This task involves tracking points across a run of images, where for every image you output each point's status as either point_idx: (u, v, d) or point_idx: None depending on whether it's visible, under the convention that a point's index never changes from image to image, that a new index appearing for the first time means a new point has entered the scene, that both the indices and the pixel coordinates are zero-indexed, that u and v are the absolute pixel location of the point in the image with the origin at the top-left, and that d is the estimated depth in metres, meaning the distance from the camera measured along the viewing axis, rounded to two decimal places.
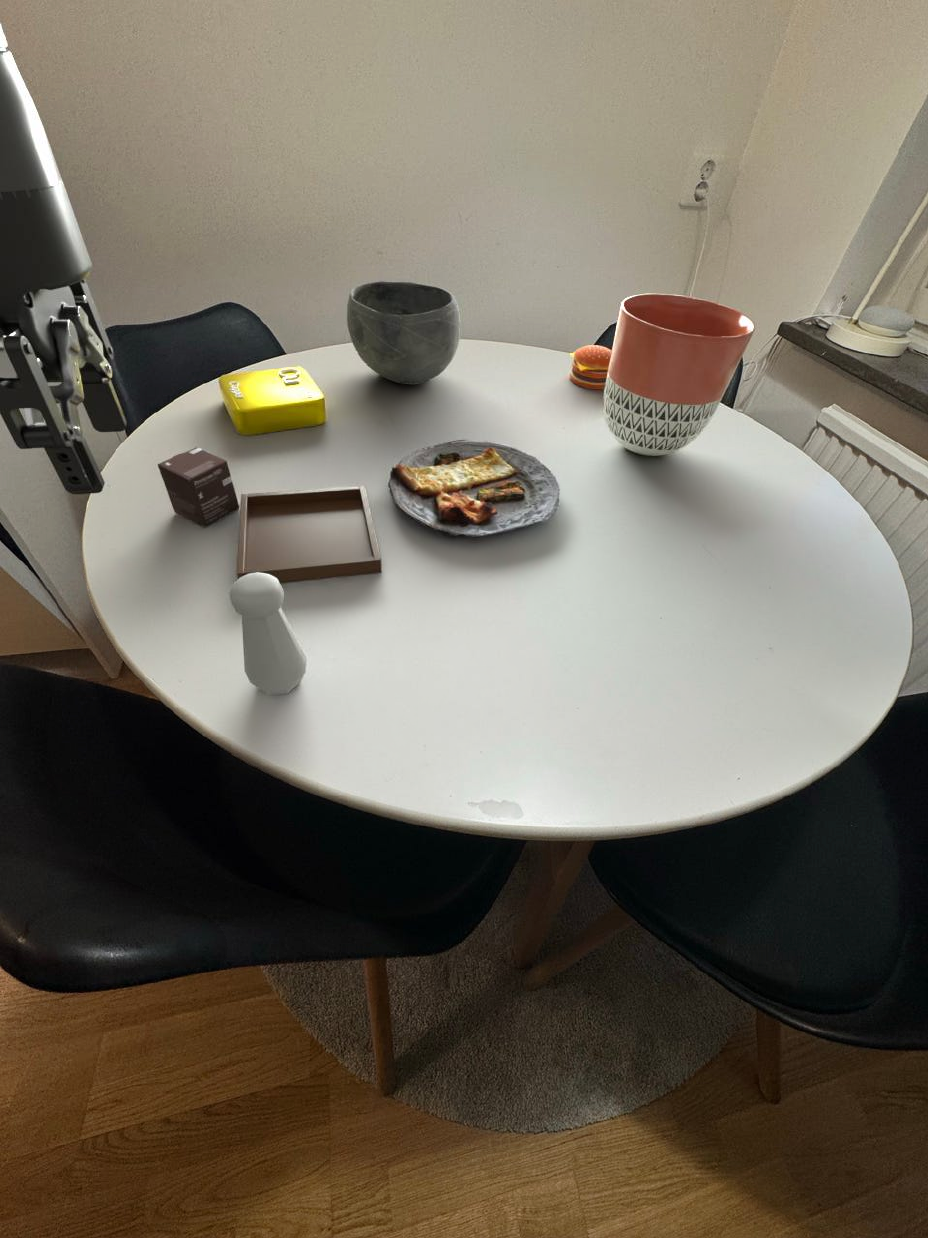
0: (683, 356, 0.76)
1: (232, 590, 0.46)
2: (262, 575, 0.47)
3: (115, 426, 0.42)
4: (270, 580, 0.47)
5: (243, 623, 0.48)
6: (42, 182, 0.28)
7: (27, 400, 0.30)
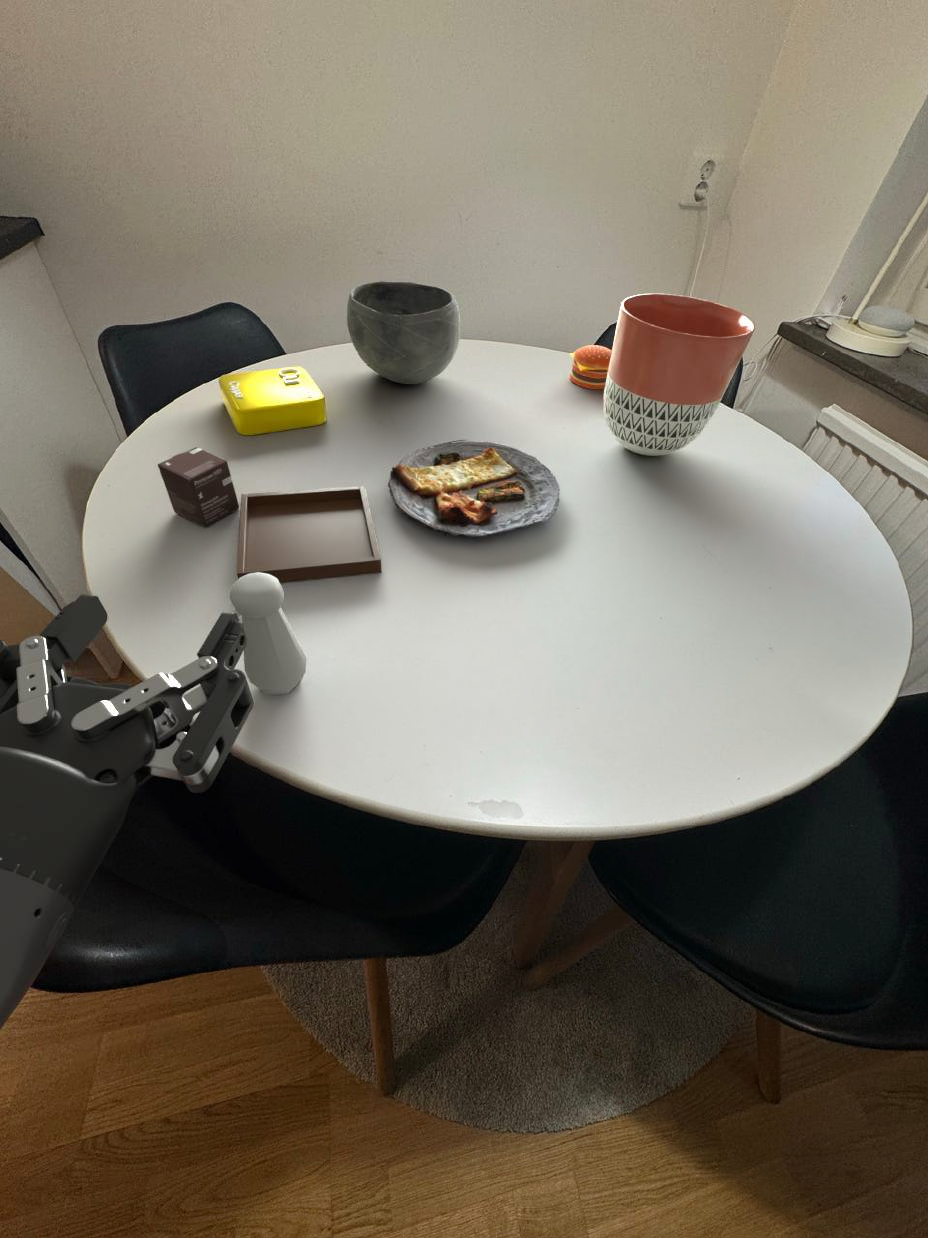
0: (683, 356, 0.76)
1: (232, 590, 0.46)
2: (262, 575, 0.47)
3: None
4: (270, 580, 0.47)
5: (243, 623, 0.48)
6: None
7: None
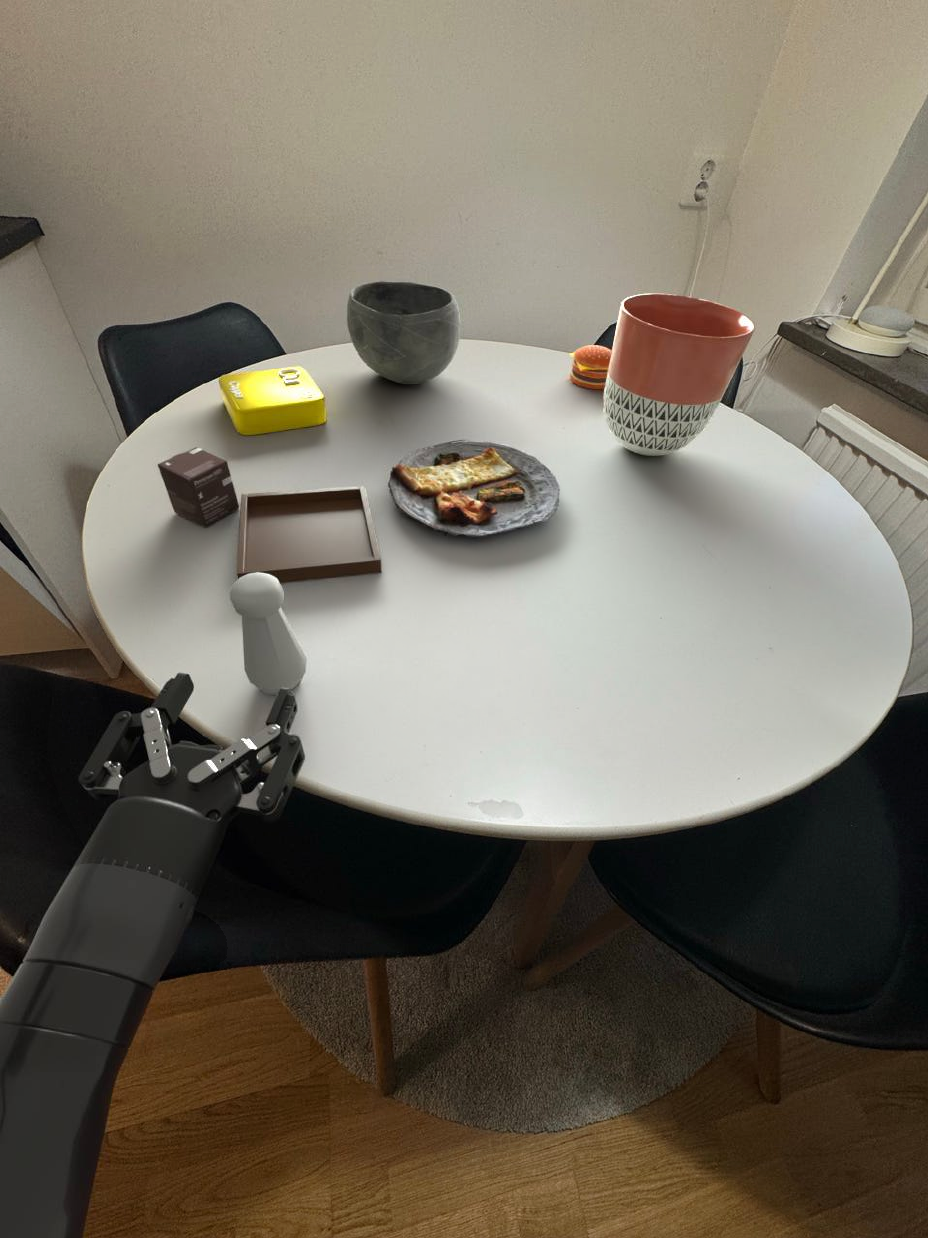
0: (683, 356, 0.76)
1: (232, 590, 0.46)
2: (262, 575, 0.47)
3: None
4: (270, 580, 0.47)
5: (243, 623, 0.48)
6: None
7: None
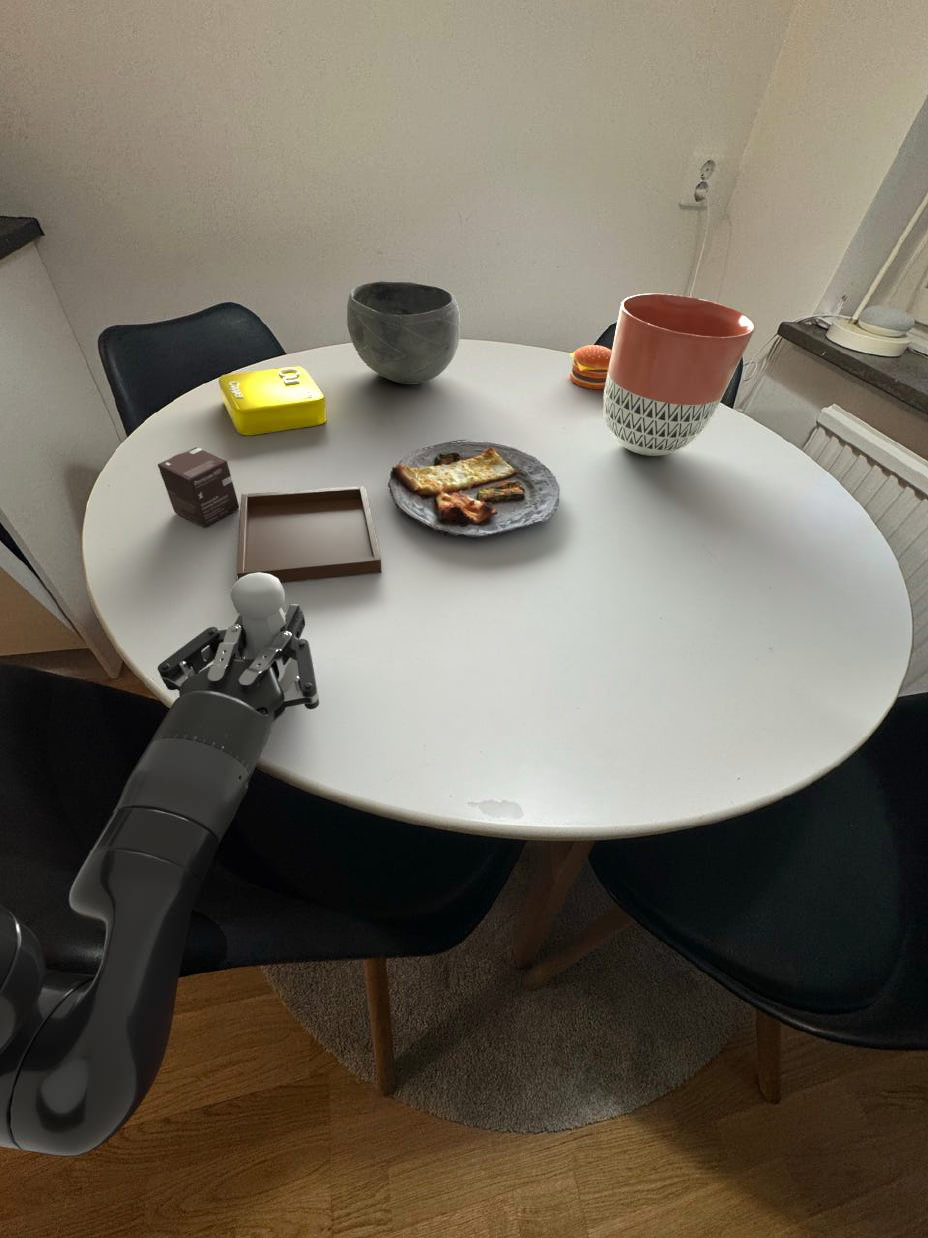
0: (683, 356, 0.76)
1: (233, 590, 0.46)
2: (263, 575, 0.47)
3: None
4: (271, 580, 0.47)
5: (244, 623, 0.48)
6: None
7: None
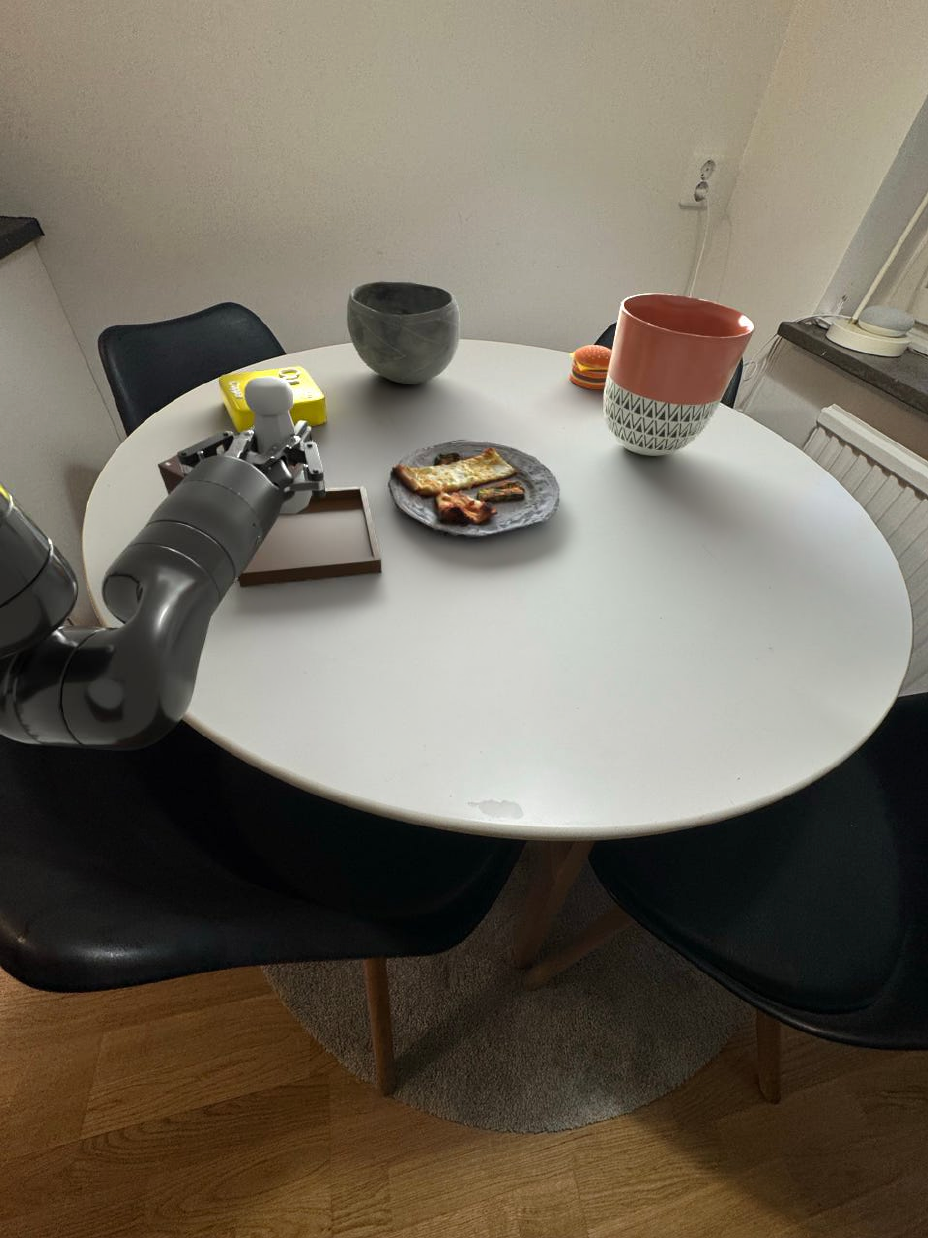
0: (683, 356, 0.76)
1: (246, 386, 0.49)
2: (274, 377, 0.50)
3: None
4: (281, 380, 0.50)
5: (256, 426, 0.52)
6: None
7: None
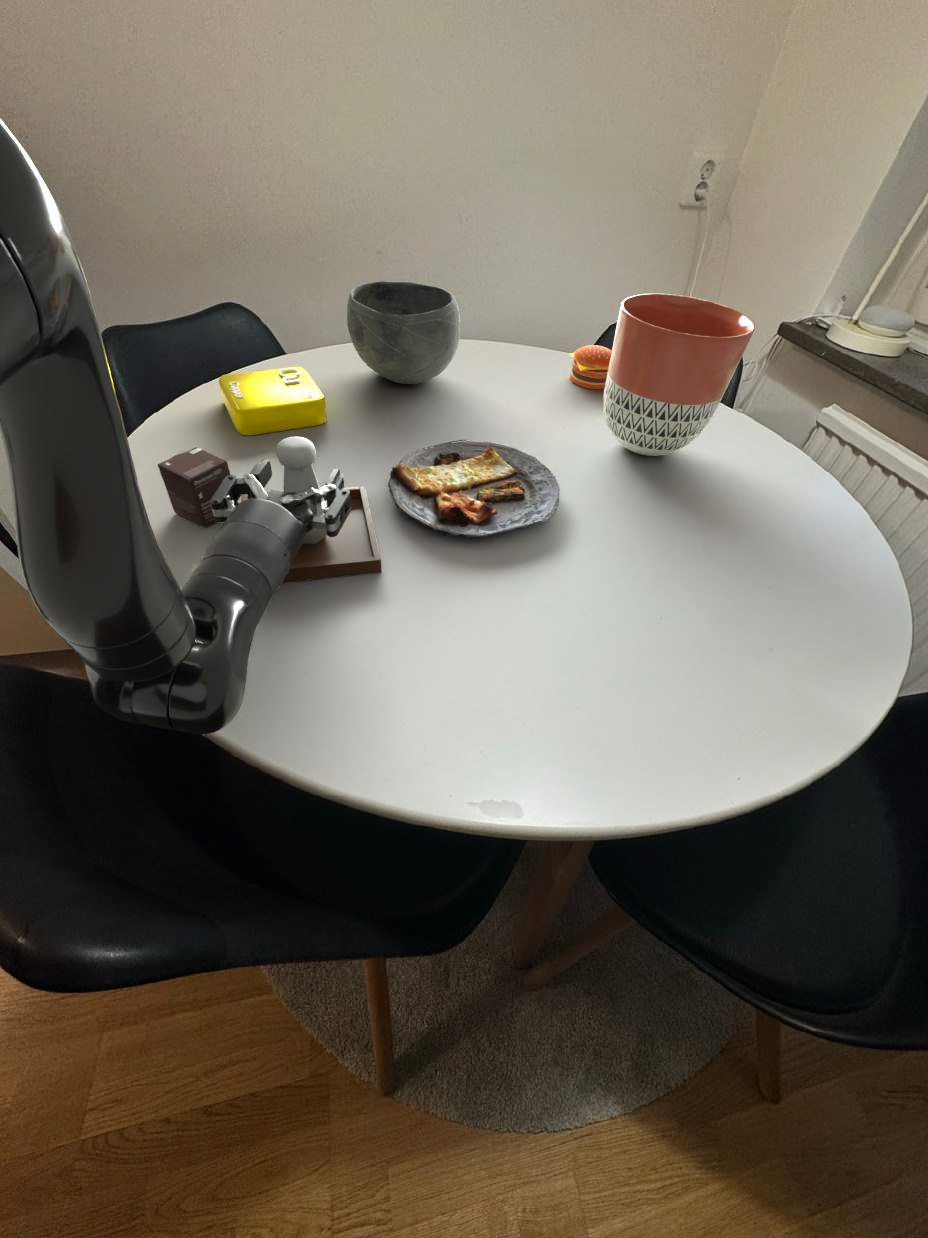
0: (683, 356, 0.76)
1: (278, 446, 0.61)
2: (300, 437, 0.63)
3: None
4: (306, 440, 0.62)
5: (285, 476, 0.64)
6: None
7: None
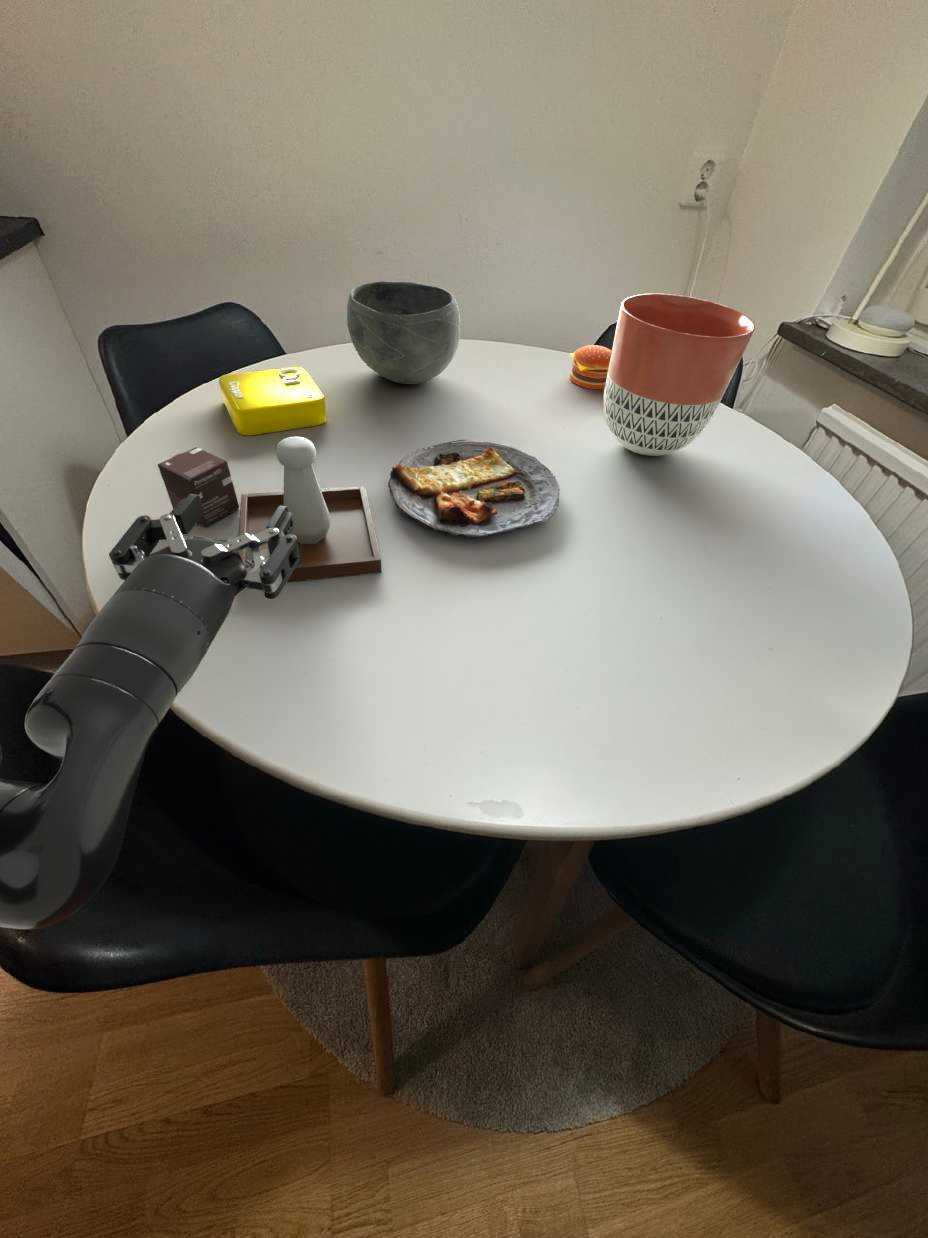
0: (683, 356, 0.76)
1: (278, 446, 0.61)
2: (300, 437, 0.63)
3: None
4: (306, 440, 0.62)
5: (285, 476, 0.64)
6: None
7: None
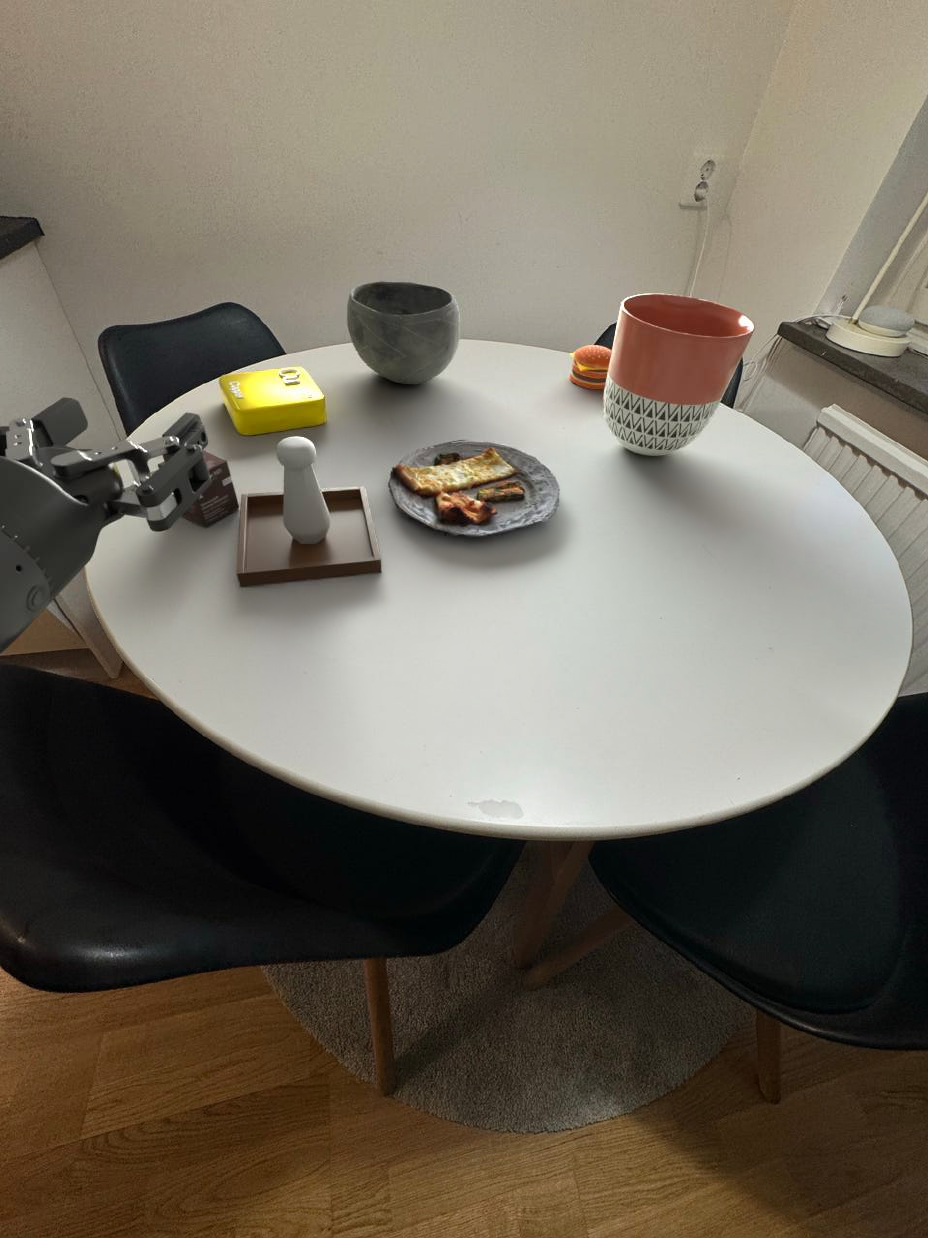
0: (683, 356, 0.76)
1: (278, 446, 0.61)
2: (300, 437, 0.63)
3: None
4: (306, 440, 0.62)
5: (285, 476, 0.64)
6: None
7: None
